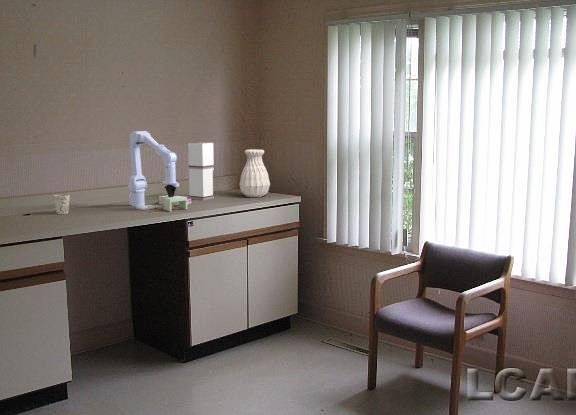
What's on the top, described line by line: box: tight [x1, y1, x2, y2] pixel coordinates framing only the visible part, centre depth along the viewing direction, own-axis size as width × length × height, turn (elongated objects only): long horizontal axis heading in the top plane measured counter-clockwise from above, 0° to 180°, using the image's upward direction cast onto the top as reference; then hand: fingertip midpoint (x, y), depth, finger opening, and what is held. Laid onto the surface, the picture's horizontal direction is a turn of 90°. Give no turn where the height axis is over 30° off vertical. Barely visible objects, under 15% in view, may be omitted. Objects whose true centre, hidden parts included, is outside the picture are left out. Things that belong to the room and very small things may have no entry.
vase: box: [239, 148, 271, 198], centre depth 423 cm, size 20×20×30 cm
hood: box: [163, 195, 188, 212], centre depth 365 cm, size 7×11×7 cm, turn 131°
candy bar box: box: [158, 195, 192, 206], centre depth 389 cm, size 11×5×16 cm
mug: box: [53, 193, 71, 215], centre depth 361 cm, size 8×13×10 cm, turn 27°
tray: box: [135, 204, 156, 211], centre depth 370 cm, size 8×8×1 cm
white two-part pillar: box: [187, 141, 215, 201], centre depth 413 cm, size 11×11×35 cm
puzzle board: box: [133, 204, 189, 214], centre depth 369 cm, size 23×22×1 cm
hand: (171, 198), depth 367 cm, fingers closed
